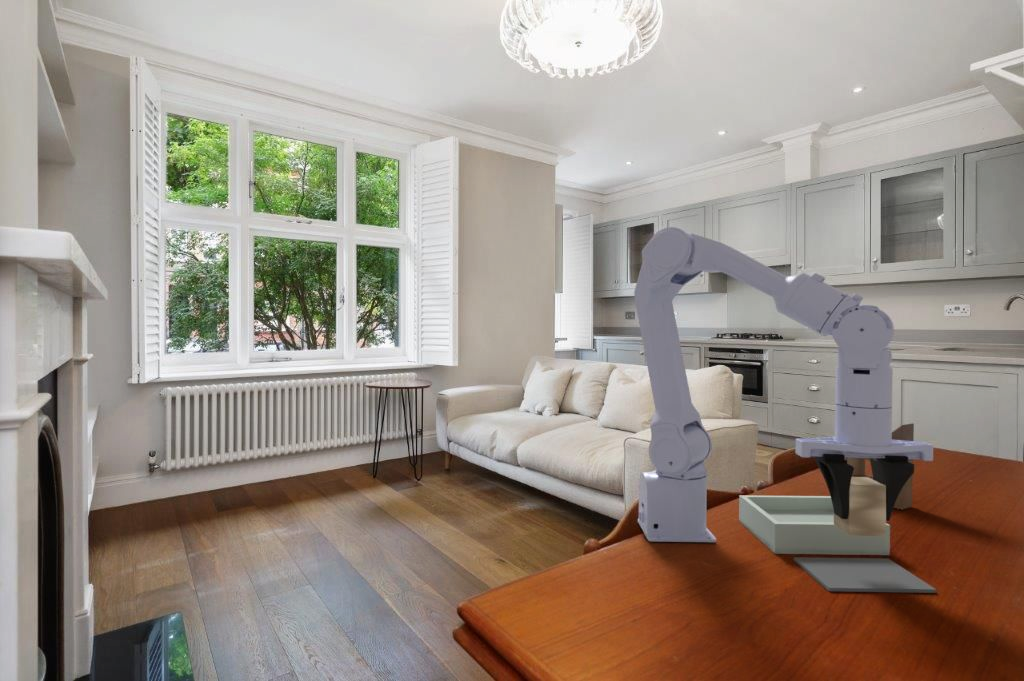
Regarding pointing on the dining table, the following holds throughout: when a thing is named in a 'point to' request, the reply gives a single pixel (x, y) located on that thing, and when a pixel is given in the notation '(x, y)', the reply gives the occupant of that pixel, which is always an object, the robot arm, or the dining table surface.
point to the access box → (804, 526)
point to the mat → (862, 575)
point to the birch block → (865, 508)
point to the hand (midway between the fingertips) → (861, 517)
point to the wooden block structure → (907, 434)
